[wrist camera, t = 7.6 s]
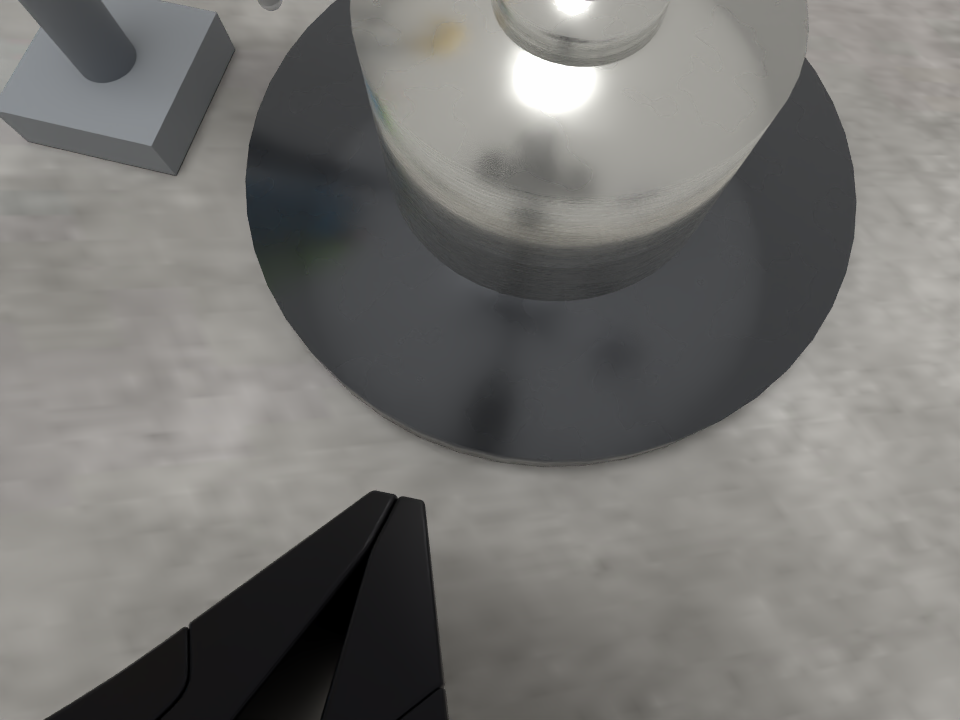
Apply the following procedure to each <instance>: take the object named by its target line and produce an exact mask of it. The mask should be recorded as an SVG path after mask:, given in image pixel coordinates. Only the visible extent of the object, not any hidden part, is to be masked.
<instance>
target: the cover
mask: <svg viewBox="0 0 960 720" xmlns="http://www.w3.org/2000/svg"><path fill="white" fill-rule="evenodd" d="M350 15H351V25H352V34H353V38H354V42H355V46H356V50H357V54H358V58H359V62H360V66H361V70H362V74H363V78H364V82H365V86H366V90H367V94H368V98H369V102H370V106H371V110H372V114H373V118H374V122H375V126H376V130H377V134H378V138H379V142H380V146H381V150H382V154H383V158H384V162H385V166H386V170H387V174H388V178H389V181H390V185H391V189H392V192H393V196H394V199H395V201H396V203H397V206H398V208H399V210H400V213H401V215H402V217H403V218H404V220H405V221H406V223H407V225H408V226H409V228H410V229H411V231H412V233H413V234H414V235H415V236H416V237H417V238H418V240H419V241H420V242H421V243H422V244H423V246H424V247H425V248H426V249H427V250H428V251H429V252H430V253H432V254H433V255H434V256H435V257H436V258H437V259H438V260H439V261H440V262H441V263H443V264H444V265H446V266H447V267H449V268H450V269H452V270H453V271H454V272H456V273H457V274H459V275H460V276H462V277H464V278H466V279H468V280H470V281H472V282H474V283H476V284H478V285H480V286H482V287H485V288H488V289H491V290H493V291H496V292H499V293H502V294H506V295H510V296H514V297H519V298H523V299H531V300H540V301H573V300H581V299H588V298H594V297H598V296H602V295H605V294H609V293H613V292H616V291H618V290H621V289H623V288H626V287H628V286H631V285H633V284H635V283H637V282H639V281H641V280H642V279H644V278H646V277H648V276H649V275H651V274H653V273H654V272H656V271H657V270H658V269H659V268H661V267H662V266H663V265H665V264H666V263H667V262H669V261H670V260H671V259H672V258H673V257H674V256H675V255H676V254H677V253H678V252H679V251H680V250H681V249H682V248H683V247H684V245H685V244H686V243H687V241H688V240H689V238H690V237H691V236H692V234H693V233H694V231H695V230H696V229H697V227H698V226H699V224H700V223H701V222H702V220H703V219H704V217H705V216H706V215H707V213H708V212H709V210H710V209H711V207H712V206H713V205H714V203H715V202H716V200H717V199H718V198H719V196H720V195H721V193H722V192H723V190H724V189H725V188H726V186H727V185H728V183H729V182H730V181H731V179H732V178H733V176H734V175H735V173H736V172H737V171H738V169H739V168H740V166H741V165H742V164H743V162H744V161H745V159H746V158H747V156H748V155H749V154H750V152H751V151H752V149H753V148H754V147H755V145H756V144H757V142H758V141H759V139H760V138H761V137H762V135H763V134H764V132H765V131H766V130H767V128H768V127H769V125H770V124H771V122H772V121H773V120H774V118H775V117H776V115H777V114H778V113H779V111H780V110H781V108H782V107H783V105H784V104H785V103H786V101H787V100H788V98H789V96H790V94H791V92H792V90H793V88H794V86H795V84H796V82H797V80H798V78H799V75H800V72H801V68H802V65H803V62H804V58H805V55H806V49H807V40H808V32H809V24H808V6H807V1H806V0H350Z"/></svg>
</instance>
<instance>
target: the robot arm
mask: <svg viewBox="0 0 960 720" xmlns="http://www.w3.org/2000/svg"><path fill="white" fill-rule="evenodd" d="M444 686H445V682H444V673H443V664H442V655H441V646H440V637H439V628H438V619H437V610H436V600H435V591H434V582H433V573H432V564H431V555H430V546H429V537H428V528H427V519H426V510H425V503H424V502H423V501H422V500H418V499H414V498H409V497H404V496H402V497H399V498H397V496H396V495H394V494H390V493H385V492H380V491H371V492H369V493H368V494H366V495H365V496H364V497H362V498H361V499H360V500H358V501H357V502H355V503H354V504H353V505H351V506H350V507H349V508H347V509H346V510H344V511H343V512H342V513H340V514H339V515H338V516H336V517H335V518H333V519H332V520H331V521H329V522H328V523H327V524H325V525H324V526H322V527H321V528H320V529H318V530H317V531H316V532H314V533H313V534H311V535H310V536H309V537H307V538H306V539H305V540H303V541H302V542H300V543H299V544H298V545H296V546H295V547H294V548H292V549H291V550H289V551H288V552H287V553H285V554H284V555H282V556H281V557H280V558H278V559H277V560H276V561H274V562H273V563H271V564H270V565H269V566H267V567H266V568H265V569H263V570H262V571H260V572H259V573H258V574H256V575H255V576H254V577H252V578H251V579H249V580H248V581H247V582H245V583H244V584H243V585H241V586H240V587H238V588H237V589H236V590H234V591H233V592H232V593H230V594H229V595H227V596H226V597H225V598H223V599H222V600H221V601H219V602H218V603H216V604H215V605H214V606H212V607H211V608H210V609H208V610H207V611H205V612H204V613H203V614H201V615H200V616H199V617H197V618H196V619H194V620H193V621H192V622H190V624H189V629H188V628H187V627H183V628H182V629H180V630H179V631H178V632H176V633H175V634H173V635H172V636H171V637H169V638H168V639H167V640H165V641H164V642H162V643H161V644H160V645H158V646H157V647H155V648H154V649H153V650H151V651H150V652H148V653H147V654H145V655H144V656H142V657H141V658H140V659H138V660H137V661H135V662H134V663H132V664H131V665H129V666H128V667H127V668H125V669H124V670H122V671H121V672H119V673H118V674H116V675H115V676H113V677H112V678H110V679H108V680H107V681H105V682H104V683H102V684H100V685H99V686H97V687H96V688H94V689H93V690H91V691H89V692H88V693H86V694H85V695H83V696H82V697H80V698H78V699H77V700H75V701H74V702H72V703H71V704H69V705H67V706H66V707H64V708H62V709H61V710H59V711H57V712H56V713H54V714H52V715H51V716H49V717H48V718H46V719H44V720H449V717H448V707H447V698H446V691H445V689H444Z"/></svg>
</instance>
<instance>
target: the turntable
mask: <svg viewBox="0 0 960 720" xmlns="http://www.w3.org/2000/svg"><path fill="white" fill-rule="evenodd" d="M246 199H247V216H248V221H249V226H250V230H251V235H252V240H253V245H254V250H255V253H256V255H257V258H258V261H259V264H260V266H261V269H262V272H263V274H264V277H265V280H266V283H267V285H268V287H269V289H270V291H271V292H272V294H273V296H274V298H275V300H276V302H277V303H278V305H279V307H280V309H281V311H282V312H283V314H284V316H285V318H286V320H287V321H288V322H289V323H290V325H291V326H292V327H293V329H294V330H295V331H296V333H297V334H298V335H299V337H300V338H301V339H302V341H303V342H304V343H305V345H306V346H307V347H308V348H309V350H310V351H311V352H312V353H313V354H314V356H315V357H316V358H317V359H318V360H319V361H320V362H321V363H322V364H323V366H324V367H325V368H326V369H327V370H328V371H329V372H330V373H331V374H333V375H334V376H335V377H336V378H337V379H338V380H339V381H340V382H341V383H342V384H343V385H344V386H345V387H346V388H347V389H348V390H349V391H350V392H351V393H352V394H353V395H354V396H356V397H357V398H358V399H360V400H361V401H362V402H364V403H365V404H366V405H368V406H369V407H371V408H372V409H373V410H375V411H376V412H377V413H379V414H380V415H381V416H383V417H384V418H386V419H388V420H389V421H391V422H393V423H395V424H397V425H399V426H400V427H402V428H404V429H406V430H408V431H409V432H411V433H413V434H415V435H417V436H418V437H421V438H423V439H426V440H428V441H431V442H433V443H436V444H439V445H441V446H444V447H446V448H449V449H451V450H454V451H457V452H460V453H464V454H468V455H472V456H476V457H480V458H484V459H489V460H493V461H497V462H503V463H512V464H522V465H531V466H540V467H546V466H584V465H590V464H596V463H603V462H609V461H615V460H622V459H626V458H630V457H633V456H636V455H640V454H643V453H646V452H649V451H653V450H656V449H659V448H663V447H665V446H667V445H670V444H672V443H674V442H676V441H678V440H680V439H683V438H685V437H687V436H689V435H691V434H693V433H696V432H698V431H700V430H702V429H704V428H706V427H708V426H710V425H712V424H714V423H717V422H719V421H721V420H722V419H724V418H725V417H727V416H729V415H730V414H732V413H733V412H735V411H736V410H738V409H739V408H741V407H742V406H744V405H745V404H747V403H749V402H750V401H752V400H753V399H755V398H756V397H758V396H759V395H760V394H761V393H762V392H763V391H764V390H765V389H767V388H768V387H769V386H770V385H771V384H772V383H773V382H774V381H776V380H777V379H778V378H779V377H780V376H781V375H782V374H784V373H785V372H786V371H787V370H788V369H789V368H790V366H791V365H792V364H793V363H794V362H795V360H796V359H797V358H798V357H799V356H800V354H801V353H802V352H803V351H804V350H805V348H806V347H807V346H808V345H809V344H810V342H811V341H812V340H813V338H814V337H815V335H816V333H817V332H818V330H819V328H820V327H821V325H822V323H823V322H824V320H825V318H826V317H827V315H828V313H829V312H830V310H831V308H832V306H833V304H834V301H835V299H836V296H837V294H838V291H839V289H840V286H841V284H842V281H843V279H844V276H845V274H846V270H847V266H848V262H849V257H850V253H851V248H852V244H853V239H854V229H855V214H856V193H855V182H854V170H853V164H852V160H851V156H850V152H849V147H848V143H847V139H846V135H845V132H844V129H843V127H842V124H841V122H840V119H839V117H838V114H837V112H836V109H835V107H834V104H833V102H832V100H831V98H830V96H829V94H828V93H827V91H826V89H825V87H824V85H823V84H822V82H821V80H820V78H819V77H818V75H817V73H816V71H815V70H814V69H813V67H812V66H811V65H810V63H809V62H808V61H807V59H806V58H804V62H803V65H802V68H801V72H800V75H799V78H798V80H797V82H796V84H795V86H794V88H793V90H792V92H791V94H790V96H789V98H788V100H787V101H786V103H785V104H784V105H783V107H782V108H781V110H780V111H779V113H778V114H777V115H776V117H775V118H774V120H773V121H772V122H771V124H770V125H769V127H768V128H767V130H766V131H765V132H764V134H763V135H762V137H761V138H760V139H759V141H758V142H757V144H756V145H755V147H754V148H753V149H752V151H751V152H750V154H749V155H748V156H747V158H746V159H745V161H744V162H743V164H742V165H741V166H740V168H739V169H738V171H737V172H736V173H735V175H734V176H733V178H732V179H731V181H730V182H729V183H728V185H727V186H726V188H725V189H724V190H723V192H722V193H721V195H720V196H719V198H718V199H717V200H716V202H715V203H714V205H713V206H712V207H711V209H710V210H709V212H708V213H707V215H706V216H705V217H704V219H703V220H702V222H701V223H700V224H699V226H698V227H697V229H696V230H695V231H694V233H693V234H692V236H691V237H690V238H689V240H688V241H687V243H686V244H685V245H684V247H683V248H682V249H681V250H680V251H679V252H678V253H677V254H676V255H675V256H674V257H673V258H672V259H671V260H670V261H669V262H667V263H666V264H665V265H663V266H662V267H661V268H659V269H658V270H657V271H656V272H654V273H653V274H651V275H649V276H648V277H646V278H644V279H642V280H641V281H639V282H637V283H635V284H633V285H631V286H628V287H626V288H623V289H621V290H618V291H616V292H613V293H609V294H605V295H602V296H598V297H594V298H588V299H581V300H573V301H540V300H531V299H523V298H519V297H514V296H510V295H506V294H502V293H499V292H496V291H493V290H491V289H488V288H485V287H482V286H480V285H478V284H476V283H474V282H472V281H470V280H468V279H466V278H464V277H462V276H460V275H459V274H457V273H456V272H454V271H453V270H452V269H450V268H449V267H447V266H446V265H444V264H443V263H441V262H440V261H439V260H438V259H437V258H436V257H435V256H434V255H433V254H432V253H430V252H429V251H428V250H427V249H426V248H425V247H424V246H423V244H422V243H421V242H420V241H419V240H418V238H417V237H416V236H415V235H414V234H413V233H412V231H411V229H410V228H409V226H408V225H407V223H406V221H405V220H404V218H403V217H402V215H401V213H400V210H399V208H398V206H397V203H396V201H395V199H394V196H393V192H392V189H391V185H390V181H389V178H388V174H387V170H386V166H385V162H384V158H383V154H382V150H381V146H380V142H379V138H378V134H377V130H376V126H375V122H374V118H373V114H372V110H371V106H370V102H369V98H368V94H367V90H366V86H365V82H364V78H363V74H362V70H361V66H360V62H359V58H358V54H357V50H356V46H355V42H354V38H353V34H352V25H351V15H350V0H336V1H335V2H334V3H332V4H331V5H330V6H329V7H328V8H327V9H326V10H325V11H324V12H323V13H322V14H321V15H320V16H319V17H318V18H317V19H316V20H315V21H314V22H313V23H312V24H311V25H310V26H309V27H308V28H307V29H306V30H305V32H304V33H303V34H302V35H301V37H300V38H299V39H298V40H297V42H296V43H295V44H294V45H293V47H292V48H291V49H290V51H289V52H288V53H287V55H286V56H285V58H284V60H283V61H282V63H281V65H280V66H279V68H278V70H277V71H276V73H275V75H274V77H273V78H272V80H271V82H270V84H269V86H268V89H267V91H266V93H265V96H264V98H263V101H262V103H261V105H260V108H259V110H258V113H257V116H256V120H255V124H254V128H253V132H252V136H251V140H250V144H249V151H248V160H247V170H246Z"/></svg>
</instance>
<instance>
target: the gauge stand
mask: <svg viewBox="0 0 960 720" xmlns="http://www.w3.org/2000/svg"><path fill="white" fill-rule="evenodd" d="M19 2H20V3H21V4H22V5H23V6H24V7H25V9H26V10H27V11H28V12H29V13H30V14H31V16H32V17H33V18H34V19H35V20H36V21H37V23H38V24H39V25H40V26H41V27H40V28H39V30H38V32H37V33H36V35H35V37H34V39H33V40H32V42H31V44H30V45H29V47H28V49H27V50H26V52H25V54H24V55H23V57H22V59H21V60H20V62H19V64H18V66H17V67H16V69H15V71H14V72H13V74H12V76H11V77H10V79H9V81H8V82H7V84H6V86H5V87H4V89H3V91H2V93H1V94H0V118H2V119H3V120H4V121H5V122H6V123H7V124H8V125H10V126H11V127H12V128H13V129H14V130H15V131H16V132H18V133H19V134H20V135H21V136H22V137H23V138H24V139H26V140H27V141H29V142H33V143H38V144H42V145H46V146H51V147H55V148H59V149H64V150H68V151H72V152H76V153H81V154H85V155H89V156H94V157H98V158H102V159H107V160H111V161H115V162H120V163H124V164H128V165H133V166H137V167H141V168H146V169H150V170H154V171H159V172H163V173H167V174H171V175H176V174H177V172H178V170H179V168H180V166H181V164H182V161H183V159H184V157H185V155H186V153H187V151H188V149H189V146H190V144H191V142H192V140H193V138H194V136H195V134H196V131H197V129H198V127H199V125H200V123H201V121H202V119H203V116H204V114H205V112H206V110H207V108H208V106H209V104H210V101H211V99H212V97H213V95H214V93H215V91H216V89H217V86H218V84H219V82H220V80H221V78H222V76H223V74H224V71H225V69H226V67H227V65H228V63H229V61H230V59H231V56H232V54H233V52H234V50H235V48H234V46H233V44H232V42H231V40H230V38H229V36H228V34H227V32H226V30H225V28H224V26H223V24H222V22H221V20H220V18H219V16H218V14H217V12H213V11H208V10H204V9H199V8H194V7H189V6H184V5H180V4H175V3H170V2H165V1H161V0H19ZM258 2H259V4H260V5H261V6H262V7H263V8H264V9H266V10H269V11H274V10H276V9H278V8H279V7H280V5H281V3H282V0H258Z"/></svg>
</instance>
